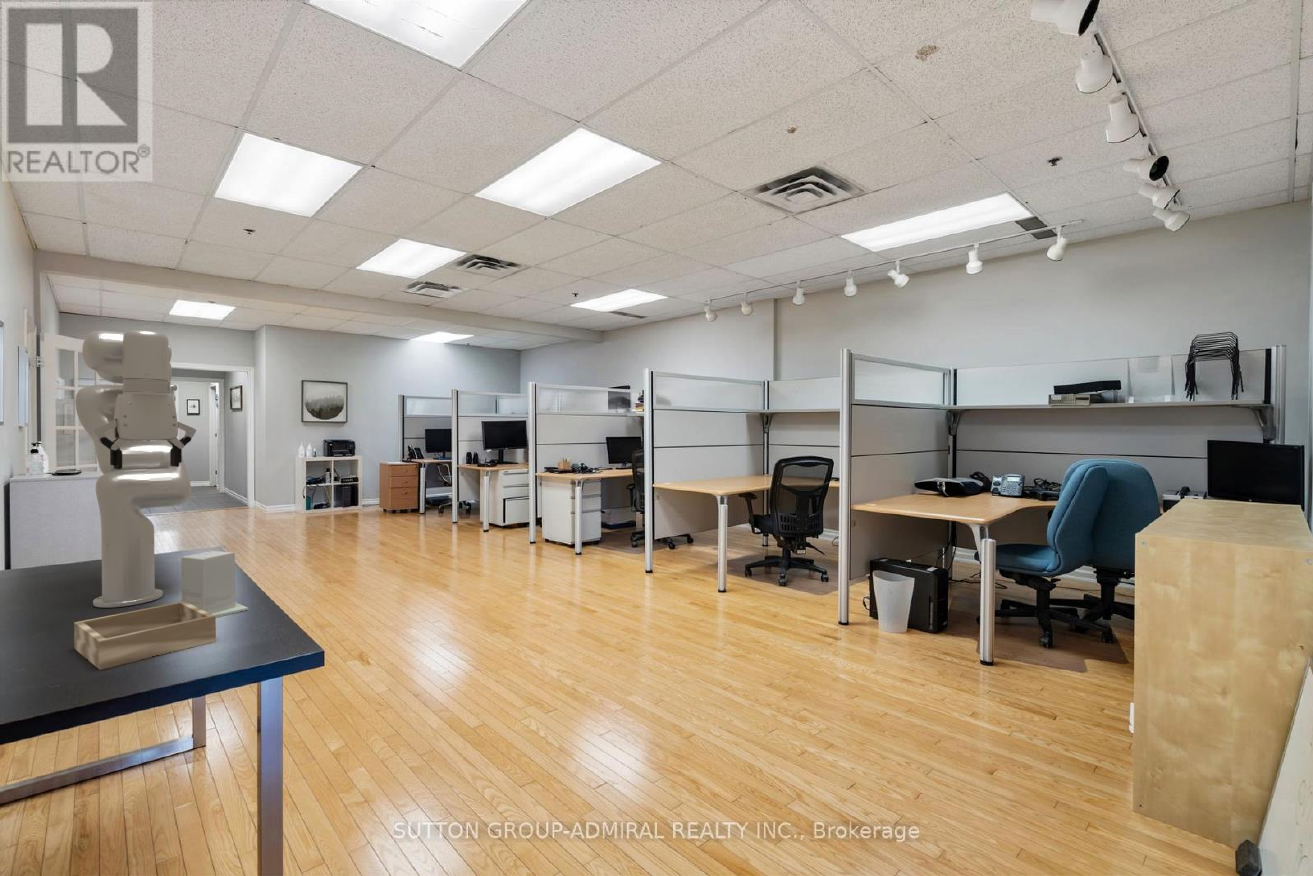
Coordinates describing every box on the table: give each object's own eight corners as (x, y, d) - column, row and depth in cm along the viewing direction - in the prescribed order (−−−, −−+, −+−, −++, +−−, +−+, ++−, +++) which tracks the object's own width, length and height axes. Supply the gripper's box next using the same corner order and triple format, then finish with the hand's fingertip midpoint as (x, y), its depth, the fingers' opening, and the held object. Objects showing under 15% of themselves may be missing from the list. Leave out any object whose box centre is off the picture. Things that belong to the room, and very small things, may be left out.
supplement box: (236, 606, 137) (236, 552, 136) (201, 616, 130) (201, 559, 130) (215, 603, 139) (215, 549, 139) (180, 612, 132) (180, 556, 132)
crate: (74, 648, 112) (74, 622, 112) (184, 624, 126) (184, 601, 126) (99, 670, 103) (99, 641, 102) (215, 641, 116) (215, 616, 116)
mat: (171, 613, 133) (171, 611, 133) (228, 602, 142) (228, 599, 142) (190, 623, 127) (189, 620, 127) (248, 610, 136) (248, 607, 136)
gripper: (188, 391, 137) (189, 465, 137) (87, 386, 123) (88, 469, 123) (201, 390, 133) (201, 466, 133) (97, 385, 119) (98, 470, 119)
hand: (147, 467), depth 128 cm, fingers open, 9 cm apart
